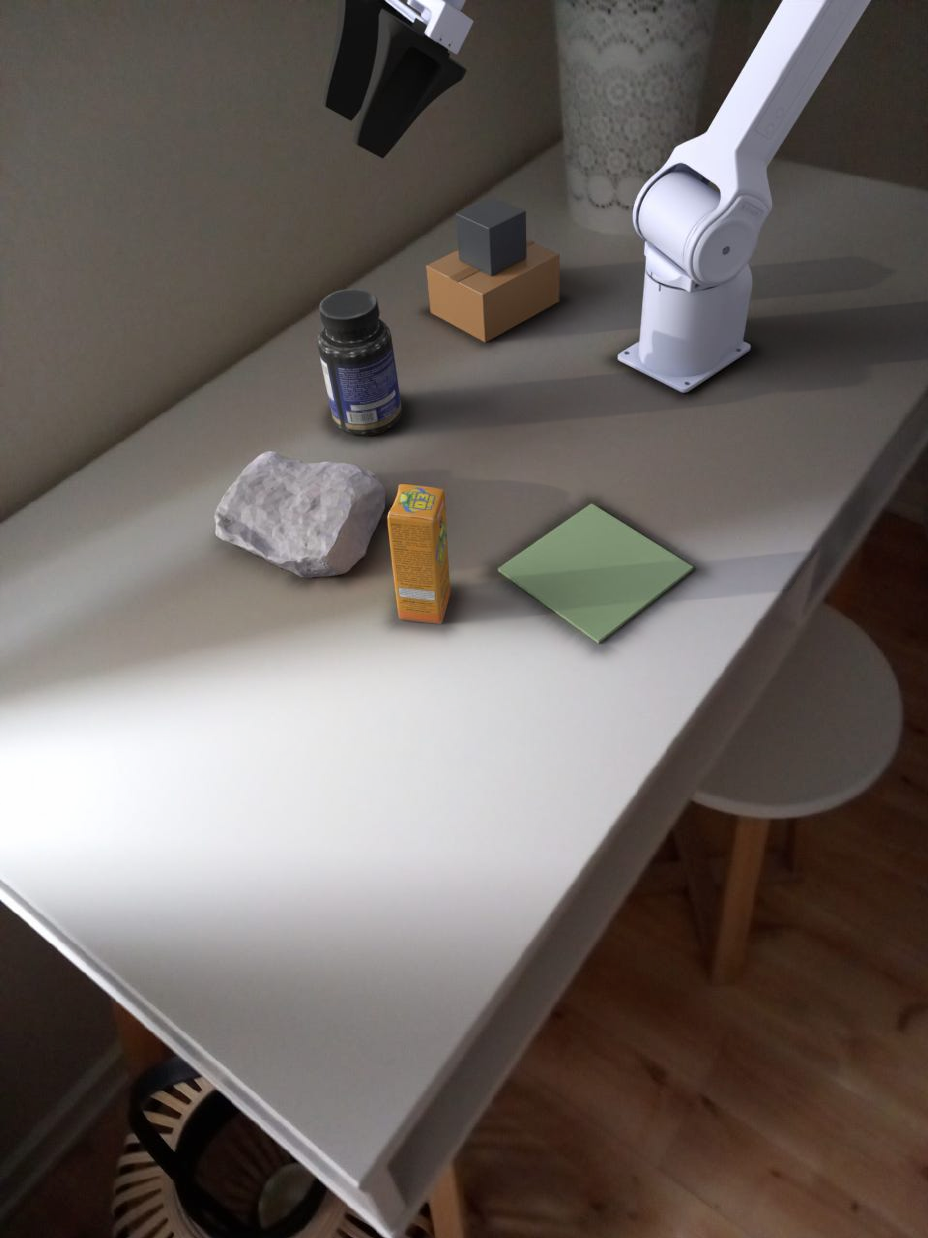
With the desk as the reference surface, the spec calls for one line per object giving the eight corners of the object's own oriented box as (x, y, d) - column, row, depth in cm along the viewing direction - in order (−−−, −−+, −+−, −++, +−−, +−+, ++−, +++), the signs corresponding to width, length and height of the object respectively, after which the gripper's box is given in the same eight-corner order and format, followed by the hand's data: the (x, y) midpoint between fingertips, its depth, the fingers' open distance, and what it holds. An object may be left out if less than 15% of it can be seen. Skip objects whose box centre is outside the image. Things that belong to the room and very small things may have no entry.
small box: (493, 242, 95) (491, 195, 91) (527, 257, 92) (526, 210, 89) (458, 260, 93) (455, 212, 89) (491, 276, 90) (489, 228, 87)
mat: (591, 505, 76) (591, 503, 75) (693, 569, 70) (693, 566, 70) (497, 571, 71) (497, 568, 71) (598, 644, 66) (598, 641, 66)
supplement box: (445, 626, 68) (433, 520, 61) (398, 621, 69) (380, 515, 61) (455, 592, 70) (445, 485, 63) (409, 587, 71) (393, 481, 64)
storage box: (504, 274, 100) (502, 226, 97) (559, 301, 96) (560, 252, 92) (430, 312, 96) (425, 265, 92) (484, 343, 92) (482, 294, 88)
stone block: (351, 602, 73) (396, 497, 77) (333, 565, 69) (382, 458, 73) (214, 574, 76) (265, 476, 81) (190, 538, 72) (245, 437, 77)
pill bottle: (416, 408, 86) (402, 293, 77) (375, 446, 82) (356, 331, 74) (360, 389, 88) (341, 276, 80) (318, 426, 85) (294, 312, 77)
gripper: (363, -154, 59) (272, 68, 66) (440, -120, 50) (325, 137, 56) (455, -85, 63) (362, 118, 70) (543, -41, 54) (425, 190, 60)
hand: (351, 130), depth 63 cm, fingers open, 7 cm apart
